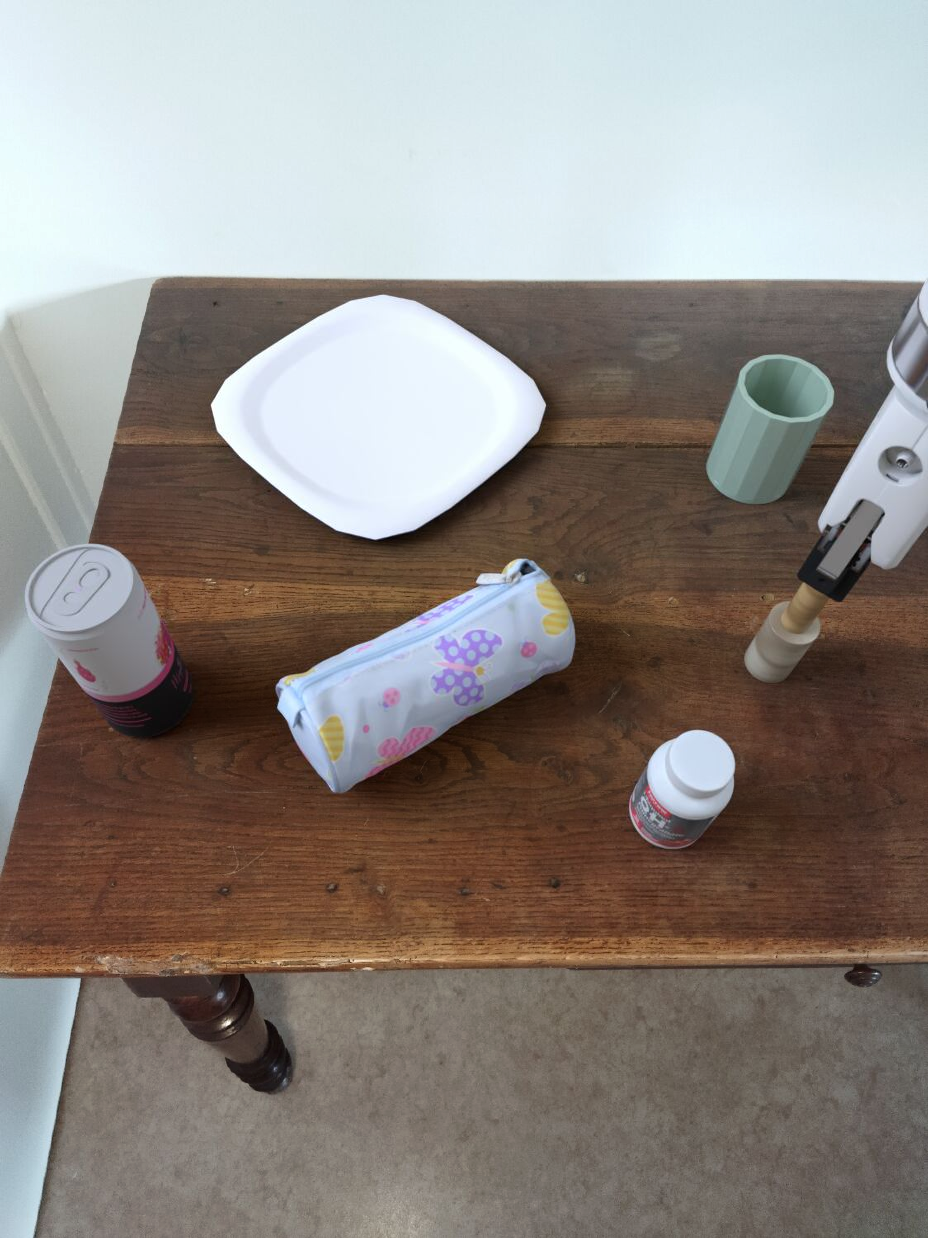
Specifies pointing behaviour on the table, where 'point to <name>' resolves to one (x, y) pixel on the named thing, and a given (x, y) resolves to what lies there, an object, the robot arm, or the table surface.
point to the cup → (768, 428)
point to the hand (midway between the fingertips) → (831, 570)
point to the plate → (378, 415)
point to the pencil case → (427, 674)
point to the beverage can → (110, 638)
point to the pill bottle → (683, 789)
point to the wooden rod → (786, 634)
